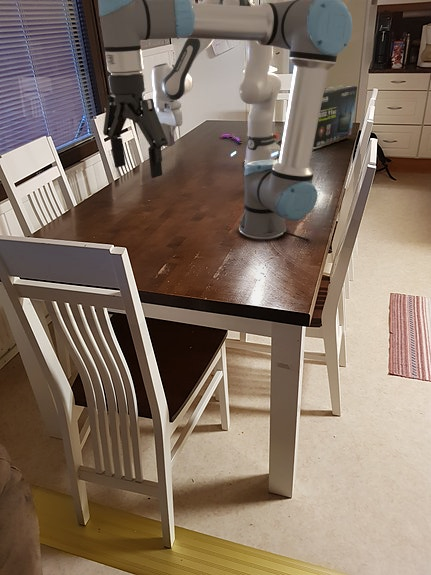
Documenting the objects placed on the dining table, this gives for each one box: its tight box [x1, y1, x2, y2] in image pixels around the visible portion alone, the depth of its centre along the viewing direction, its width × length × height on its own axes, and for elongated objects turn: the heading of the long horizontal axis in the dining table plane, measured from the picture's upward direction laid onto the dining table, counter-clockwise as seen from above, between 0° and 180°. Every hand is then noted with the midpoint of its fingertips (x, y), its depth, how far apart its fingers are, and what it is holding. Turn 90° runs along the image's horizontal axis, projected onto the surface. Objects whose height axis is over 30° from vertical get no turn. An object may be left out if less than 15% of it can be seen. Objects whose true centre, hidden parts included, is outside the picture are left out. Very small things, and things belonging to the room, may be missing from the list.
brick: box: [160, 123, 175, 147], centre depth 217 cm, size 5×6×10 cm
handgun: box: [220, 133, 243, 145], centre depth 256 cm, size 21×8×2 cm, turn 11°
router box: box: [313, 84, 358, 147], centre depth 238 cm, size 36×11×27 cm, turn 134°
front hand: (138, 171), depth 109 cm, fingers open, 13 cm apart
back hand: (166, 133), depth 217 cm, fingers closed on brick, 7 cm apart
